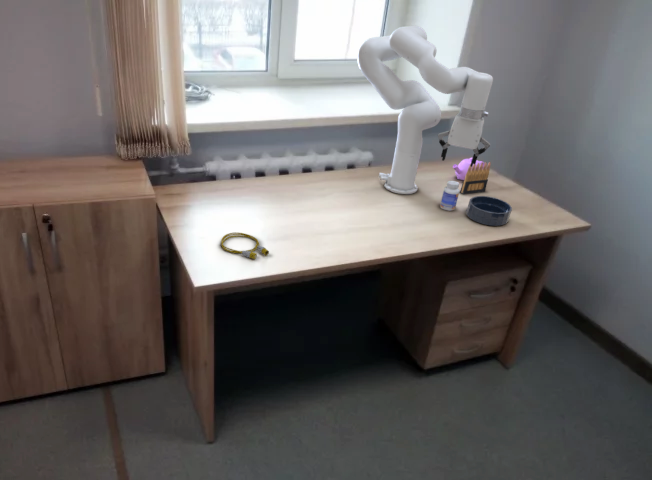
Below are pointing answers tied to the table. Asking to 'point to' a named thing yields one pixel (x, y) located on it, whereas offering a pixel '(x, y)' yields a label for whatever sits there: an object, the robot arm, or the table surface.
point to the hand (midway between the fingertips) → (457, 162)
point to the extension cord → (249, 252)
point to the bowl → (488, 210)
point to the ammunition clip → (476, 179)
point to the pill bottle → (450, 196)
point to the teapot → (464, 168)
